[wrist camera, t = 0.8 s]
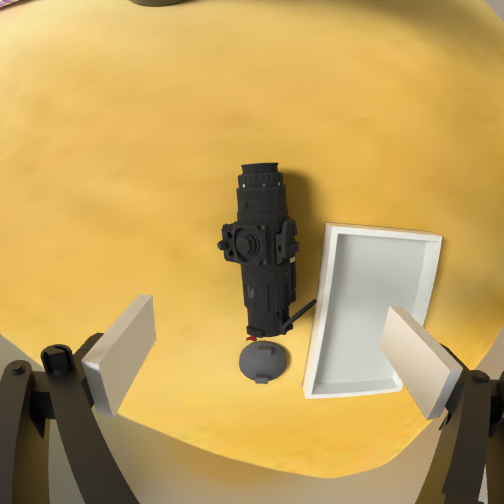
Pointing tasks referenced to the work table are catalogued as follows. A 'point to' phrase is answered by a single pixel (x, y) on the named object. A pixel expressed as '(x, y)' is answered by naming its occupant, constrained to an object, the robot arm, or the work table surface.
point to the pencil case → (6, 2)
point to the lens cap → (262, 361)
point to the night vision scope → (264, 250)
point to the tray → (365, 305)
